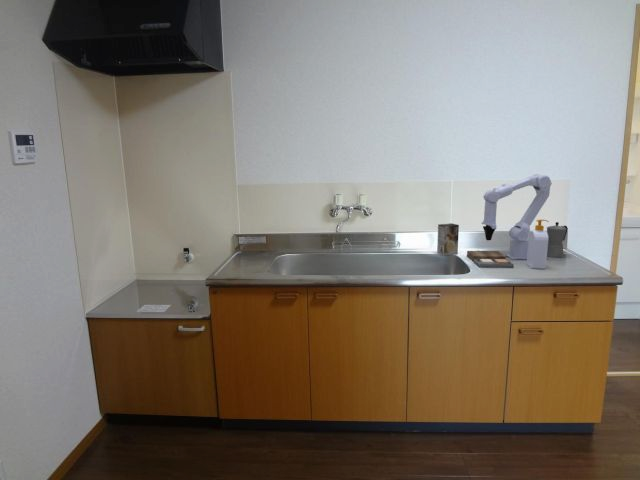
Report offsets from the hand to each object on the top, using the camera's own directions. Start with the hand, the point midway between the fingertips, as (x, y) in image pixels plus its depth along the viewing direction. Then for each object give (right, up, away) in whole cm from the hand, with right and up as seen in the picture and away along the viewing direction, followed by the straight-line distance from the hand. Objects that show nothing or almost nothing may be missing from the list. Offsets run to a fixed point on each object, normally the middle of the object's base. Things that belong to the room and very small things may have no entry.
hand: (488, 240), depth 239 cm
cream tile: (-6, -10, -14) cm, 18 cm away
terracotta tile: (+1, -10, -15) cm, 18 cm away
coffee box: (-18, -8, +11) cm, 23 cm away
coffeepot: (+37, -8, +6) cm, 39 cm away
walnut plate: (-2, -10, -1) cm, 10 cm away
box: (-3, -12, -13) cm, 18 cm away
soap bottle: (+17, -13, -16) cm, 27 cm away
